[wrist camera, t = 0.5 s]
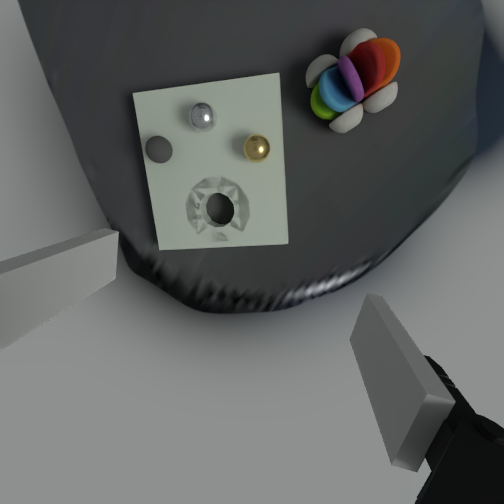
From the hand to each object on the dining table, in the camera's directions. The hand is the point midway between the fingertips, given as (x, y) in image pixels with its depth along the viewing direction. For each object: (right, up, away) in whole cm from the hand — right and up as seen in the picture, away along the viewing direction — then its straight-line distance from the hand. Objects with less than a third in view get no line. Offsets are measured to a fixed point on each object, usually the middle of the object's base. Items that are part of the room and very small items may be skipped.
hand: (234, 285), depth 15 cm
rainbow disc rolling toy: (+12, +21, +20) cm, 32 cm away
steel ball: (-5, +17, +18) cm, 26 cm away
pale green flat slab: (-4, +13, +24) cm, 27 cm away
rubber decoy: (-10, +14, +20) cm, 27 cm away
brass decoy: (+1, +14, +19) cm, 23 cm away
